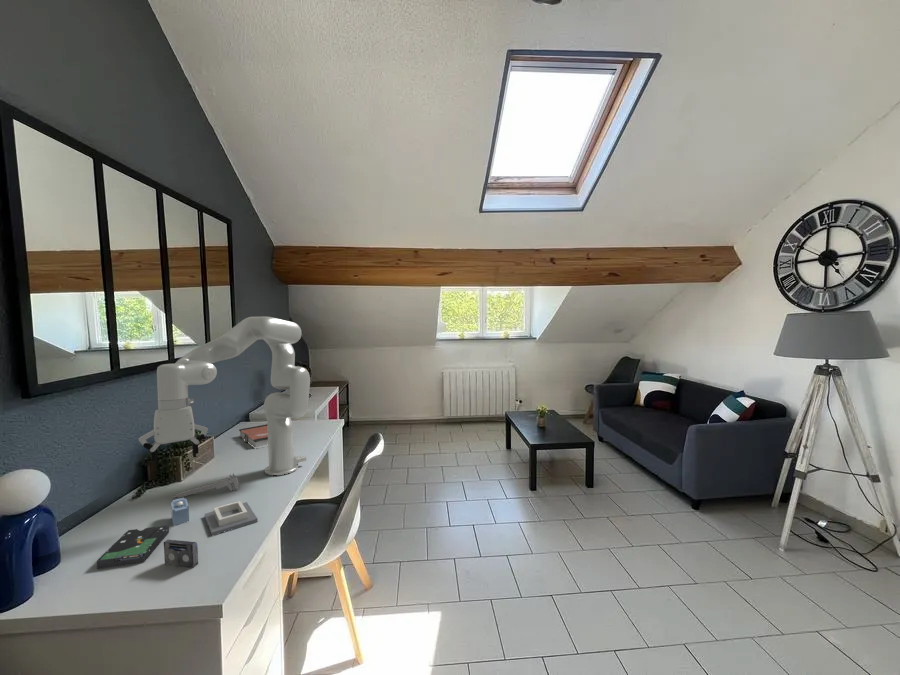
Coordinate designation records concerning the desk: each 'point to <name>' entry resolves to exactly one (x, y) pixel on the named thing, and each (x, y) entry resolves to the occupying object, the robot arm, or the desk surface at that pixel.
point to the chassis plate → (230, 517)
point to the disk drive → (133, 547)
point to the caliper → (212, 486)
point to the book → (255, 435)
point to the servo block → (179, 511)
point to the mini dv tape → (181, 553)
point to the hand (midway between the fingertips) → (175, 459)
